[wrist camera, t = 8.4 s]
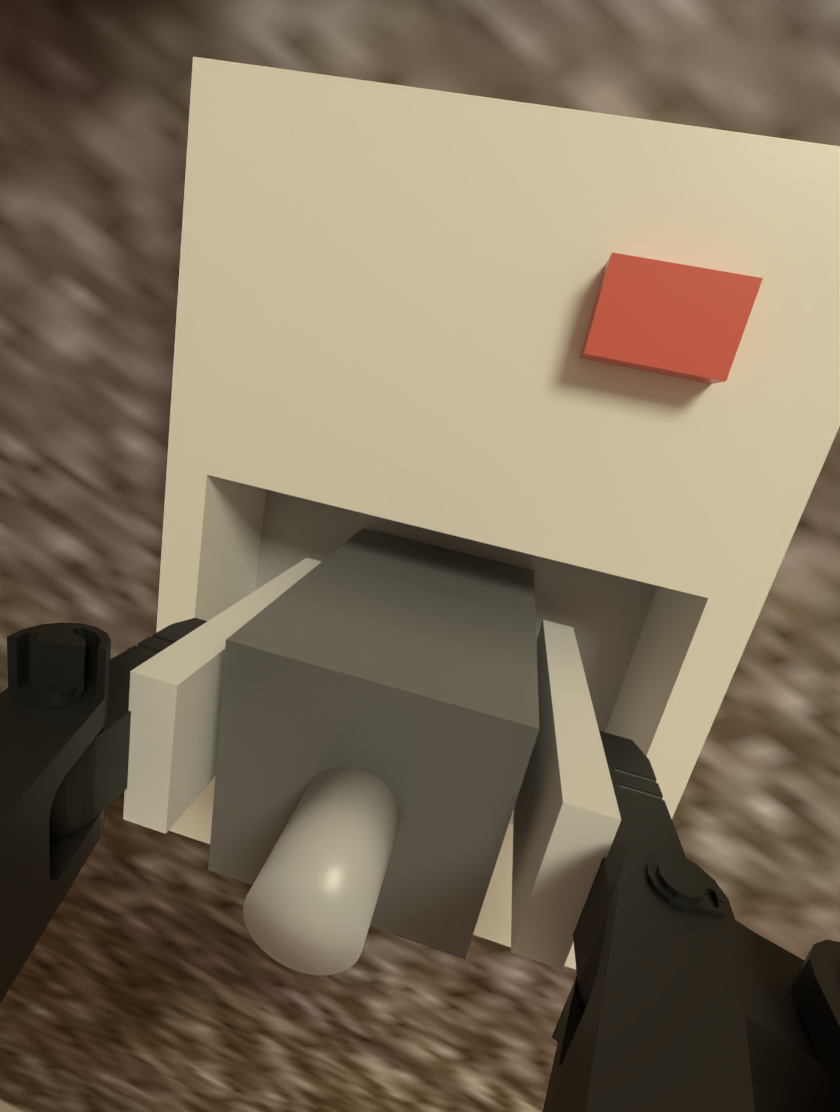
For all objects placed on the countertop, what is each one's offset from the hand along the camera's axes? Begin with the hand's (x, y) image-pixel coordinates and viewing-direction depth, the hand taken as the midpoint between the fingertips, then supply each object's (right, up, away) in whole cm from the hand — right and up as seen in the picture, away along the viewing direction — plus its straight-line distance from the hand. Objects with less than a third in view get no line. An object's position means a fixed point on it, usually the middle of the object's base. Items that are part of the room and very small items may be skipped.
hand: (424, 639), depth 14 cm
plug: (0, 0, +1) cm, 1 cm away
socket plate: (+1, +2, +1) cm, 3 cm away
